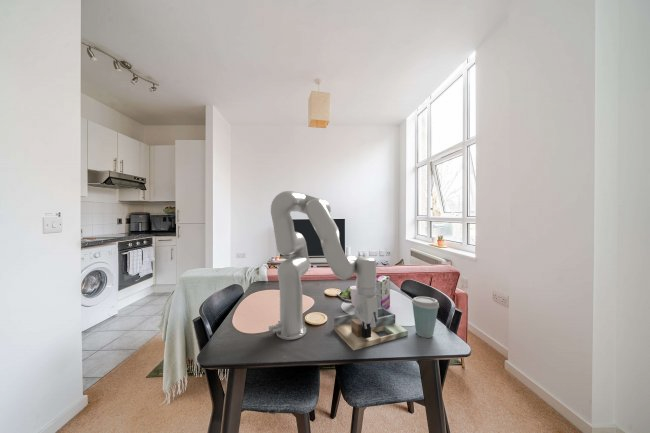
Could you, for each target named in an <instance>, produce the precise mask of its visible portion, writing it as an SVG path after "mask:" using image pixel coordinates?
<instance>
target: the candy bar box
mask: <svg viewBox="0 0 650 433" xmlns="http://www.w3.org/2000/svg"><path fill="white" fill-rule="evenodd" d="M390 280H391V277H390V276H389V275H383V274H382V275H380V276H378V277H376V298H377V306H378V308H382V307H383V308H385V309H386V310H388V309H389V308H390V307H391V296H390V295H391V288H390V287H391V283H390V282H391V281H390Z"/></svg>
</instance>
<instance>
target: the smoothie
mask: <svg viewBox="0 0 650 433" xmlns="http://www.w3.org/2000/svg"><path fill="white" fill-rule="evenodd" d="M349 287H350V292H351V298H350V300H352V302H351V306H352V307H355V295H356V291H357V279H355V285H350V286H349Z"/></svg>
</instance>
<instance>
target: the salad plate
mask: <svg viewBox="0 0 650 433" xmlns="http://www.w3.org/2000/svg"><path fill="white" fill-rule="evenodd" d="M350 287H351V286H349V287H347V289H345V290H340V292H341V293H340V294H338V295H337V297H338V298H340V299H341V300H343V301H345V302H348V303H352V300H351V292H350Z"/></svg>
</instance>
